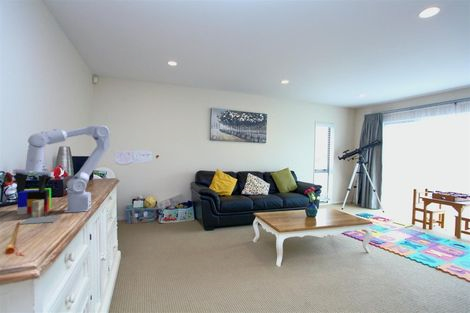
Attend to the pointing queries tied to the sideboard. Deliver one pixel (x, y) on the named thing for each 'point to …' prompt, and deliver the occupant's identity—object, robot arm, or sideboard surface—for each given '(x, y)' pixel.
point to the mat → (40, 220)
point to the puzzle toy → (31, 195)
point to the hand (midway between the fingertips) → (31, 191)
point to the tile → (37, 208)
